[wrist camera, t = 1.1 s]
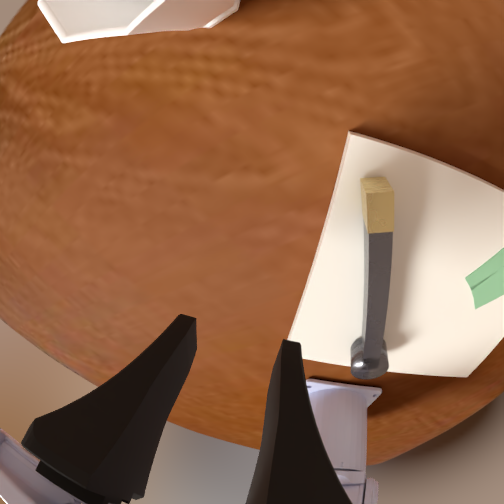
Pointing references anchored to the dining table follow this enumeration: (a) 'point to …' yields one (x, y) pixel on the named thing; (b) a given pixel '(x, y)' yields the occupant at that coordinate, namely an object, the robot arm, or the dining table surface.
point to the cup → (131, 16)
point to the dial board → (410, 265)
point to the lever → (375, 278)
